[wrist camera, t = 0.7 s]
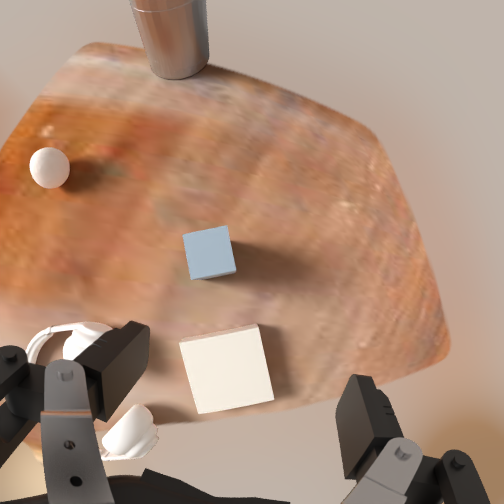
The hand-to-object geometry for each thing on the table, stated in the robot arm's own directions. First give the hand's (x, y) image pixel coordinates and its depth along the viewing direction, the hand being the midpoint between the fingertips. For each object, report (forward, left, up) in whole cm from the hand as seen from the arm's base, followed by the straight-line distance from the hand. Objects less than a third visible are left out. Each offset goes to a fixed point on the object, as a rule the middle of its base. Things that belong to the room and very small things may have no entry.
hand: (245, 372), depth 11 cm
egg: (-27, -13, -25) cm, 40 cm away
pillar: (-6, +1, -25) cm, 26 cm away
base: (+6, -4, -25) cm, 26 cm away
